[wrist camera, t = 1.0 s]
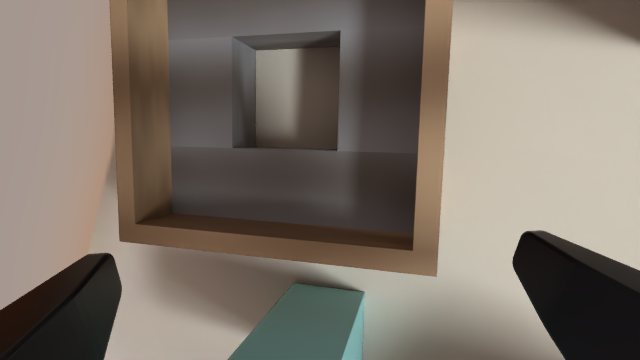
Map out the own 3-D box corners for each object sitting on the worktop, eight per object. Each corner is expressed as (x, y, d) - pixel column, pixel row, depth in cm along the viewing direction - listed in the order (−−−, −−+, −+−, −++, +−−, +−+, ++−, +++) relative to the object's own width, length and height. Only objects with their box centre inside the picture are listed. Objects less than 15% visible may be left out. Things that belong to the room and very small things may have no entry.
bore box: (430, 239, 21) (436, 276, 15) (188, 218, 25) (119, 241, 19) (447, -57, 19) (461, -144, 13) (183, -28, 23) (106, -84, 17)
